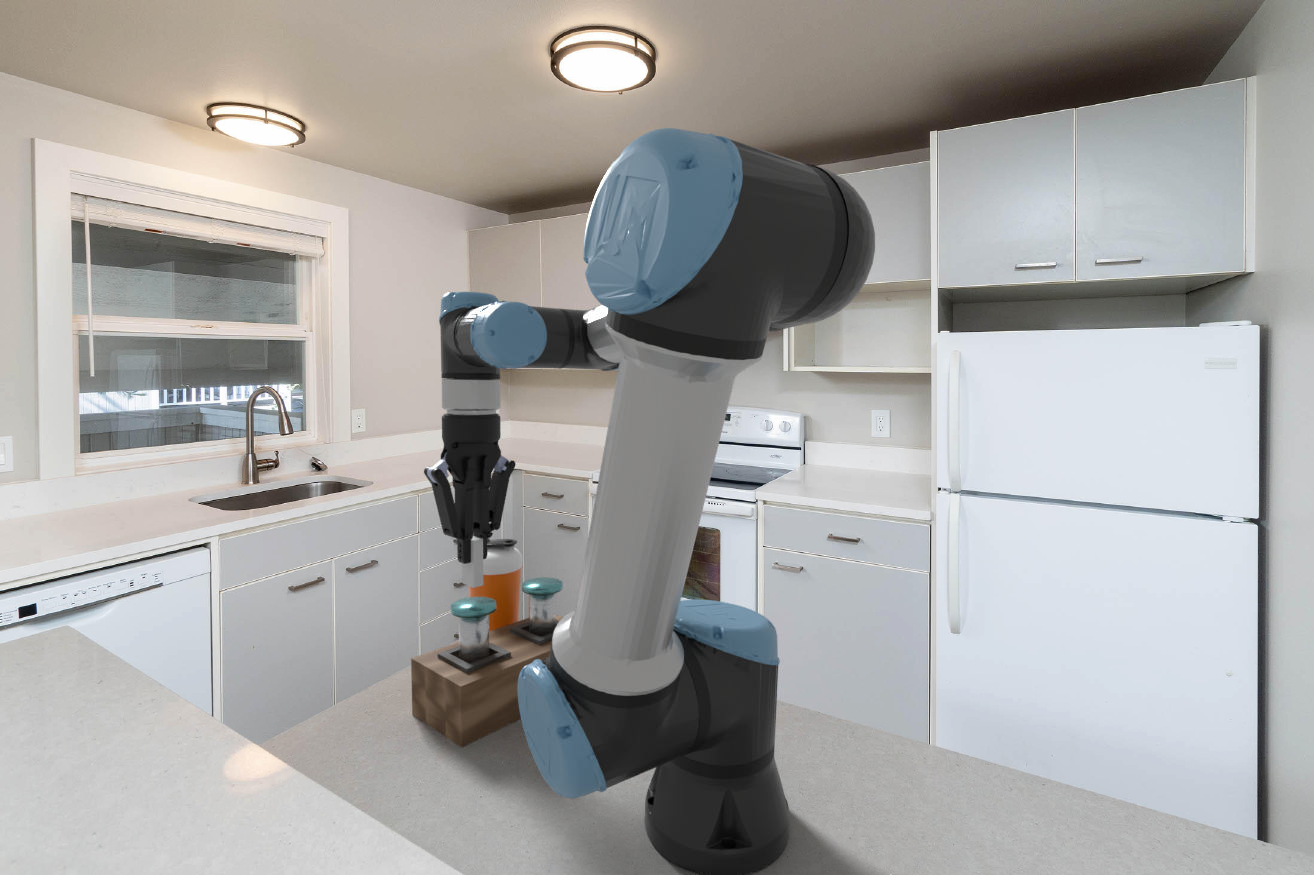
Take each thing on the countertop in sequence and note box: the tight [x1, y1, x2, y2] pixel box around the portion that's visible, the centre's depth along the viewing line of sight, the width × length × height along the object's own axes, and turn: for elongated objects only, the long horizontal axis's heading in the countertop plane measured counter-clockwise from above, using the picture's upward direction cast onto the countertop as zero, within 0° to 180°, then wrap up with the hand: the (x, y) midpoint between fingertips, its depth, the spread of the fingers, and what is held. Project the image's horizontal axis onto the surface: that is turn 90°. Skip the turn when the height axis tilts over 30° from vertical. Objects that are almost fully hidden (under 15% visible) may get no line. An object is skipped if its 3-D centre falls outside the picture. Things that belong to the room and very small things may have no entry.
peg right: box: [521, 576, 563, 637], centre depth 98 cm, size 6×6×9 cm
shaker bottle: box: [468, 538, 524, 631], centre depth 106 cm, size 9×9×20 cm
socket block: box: [410, 614, 564, 748], centre depth 94 cm, size 12×24×9 cm, turn 140°
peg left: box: [450, 597, 496, 664], centre depth 89 cm, size 6×6×9 cm
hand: (472, 584), depth 88 cm, fingers closed
